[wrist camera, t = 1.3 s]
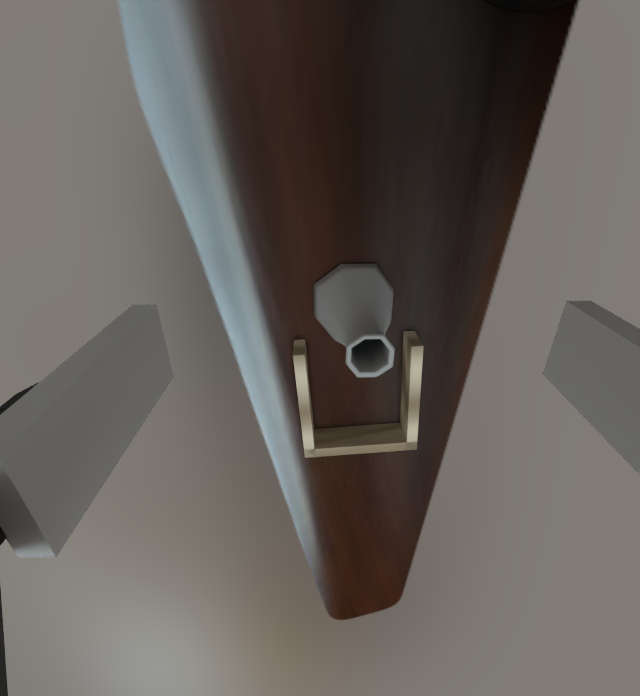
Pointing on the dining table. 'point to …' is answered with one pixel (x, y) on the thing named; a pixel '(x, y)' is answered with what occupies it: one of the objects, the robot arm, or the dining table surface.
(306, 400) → the caddy
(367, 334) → the flask
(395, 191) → the dining table surface
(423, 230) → the dining table surface
